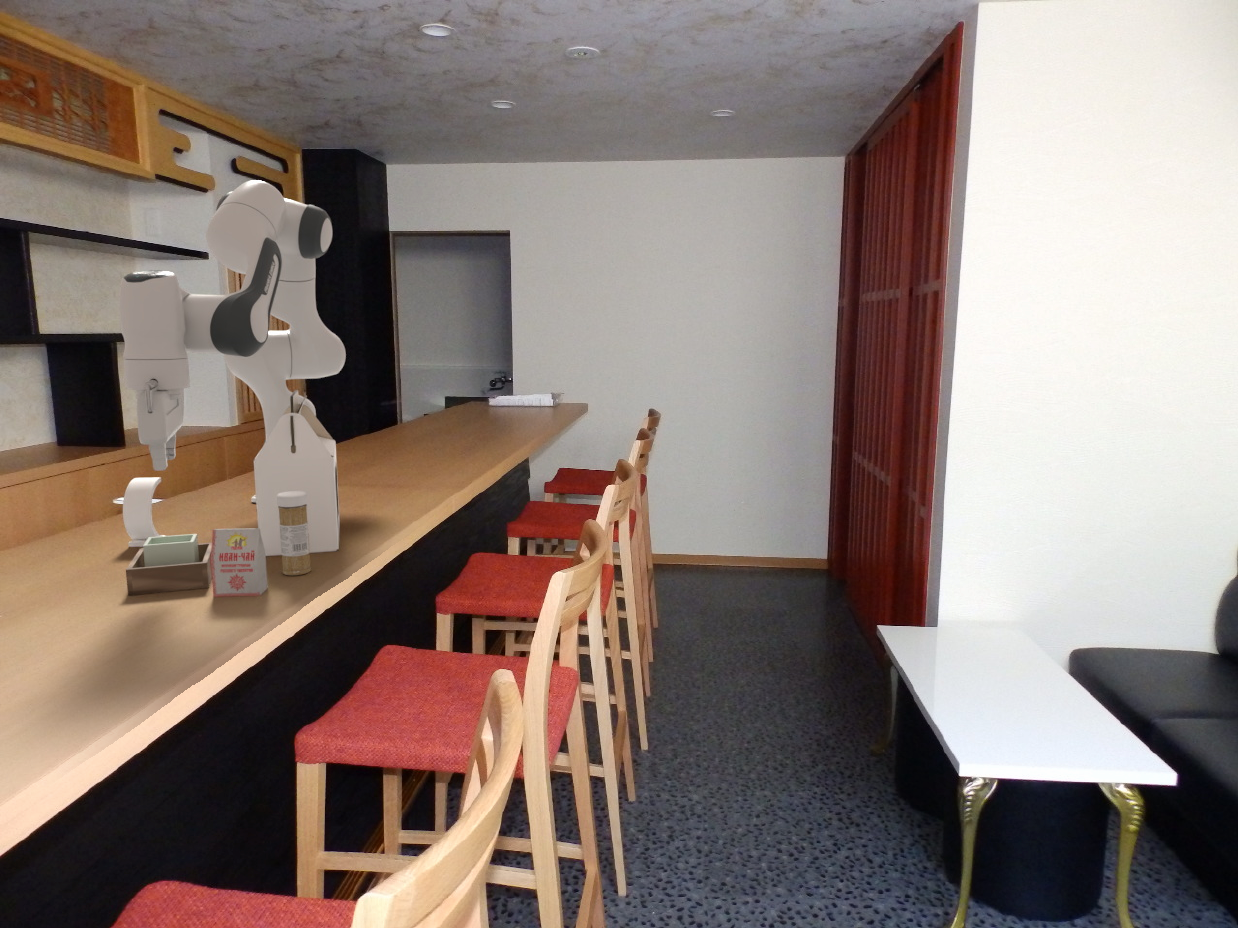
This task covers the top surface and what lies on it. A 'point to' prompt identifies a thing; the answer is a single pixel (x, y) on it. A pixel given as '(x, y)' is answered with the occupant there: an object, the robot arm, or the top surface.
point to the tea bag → (238, 562)
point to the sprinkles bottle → (294, 532)
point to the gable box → (298, 478)
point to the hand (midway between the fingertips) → (165, 464)
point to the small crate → (171, 550)
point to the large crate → (169, 574)
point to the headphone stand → (139, 510)
